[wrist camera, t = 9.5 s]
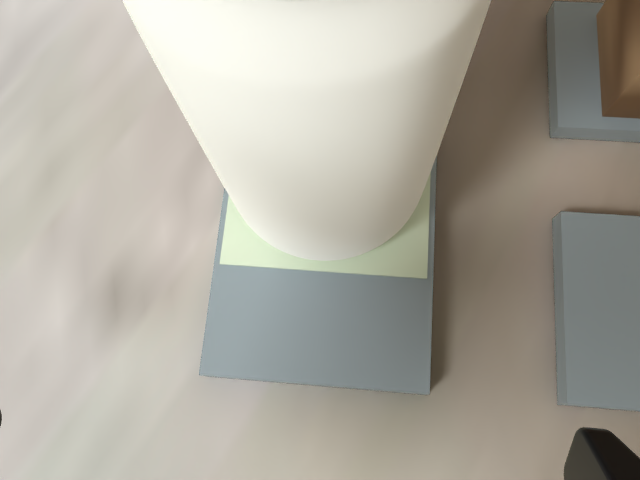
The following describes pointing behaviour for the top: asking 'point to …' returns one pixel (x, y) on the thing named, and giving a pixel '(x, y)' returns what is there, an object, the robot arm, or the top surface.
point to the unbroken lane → (323, 309)
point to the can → (316, 106)
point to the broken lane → (591, 234)
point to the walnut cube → (619, 58)
